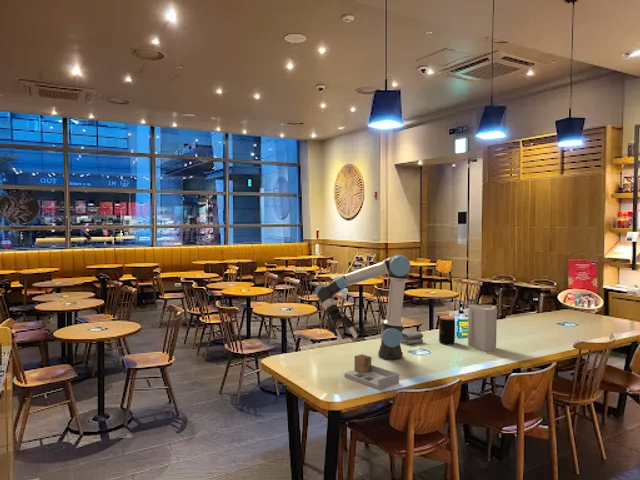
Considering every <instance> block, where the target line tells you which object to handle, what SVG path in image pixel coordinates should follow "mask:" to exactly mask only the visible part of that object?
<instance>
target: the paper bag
mask: <svg viewBox="0 0 640 480" xmlns="http://www.w3.org/2000/svg"><path fill="white" fill-rule="evenodd" d="M497 309H498V307H497V306H496V305H489V304H487V305H486V304H468V319H467V320H468V322H467V323H468V324H467V327H468V330H467V332H468V333H467V346H468V347H470V346H471V347H470V348H472V347H473V348H472V349H474V348H475V350H477V349H478V350H477V351H479V350H480V351H479V352H482V351H483V352H482V353H484V352H491V353H493V352H494V351H495V350H496V349H497V328H498V327H497V323H498V321H497V317H498V310H497ZM495 348H496V349H495ZM494 349H495V350H494ZM493 350H494V351H493ZM492 351H493V352H492Z"/></svg>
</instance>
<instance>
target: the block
mask: <svg viewBox="0 0 640 480" xmlns="http://www.w3.org/2000/svg"><path fill="white" fill-rule="evenodd" d="M371 365H372V356H370V355H366V354H363V353H362V354H358V355H354V370H355V371H357V372H360V373H363V374H364V373H368V372H371Z"/></svg>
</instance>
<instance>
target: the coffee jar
mask: <svg viewBox="0 0 640 480" xmlns="http://www.w3.org/2000/svg"><path fill="white" fill-rule="evenodd" d="M455 319H456V317H454V316H452V315H440V316H439V321H438V322H439V323H438V325H439V326H438V329H439V330H438V334H439V335H438V342H439V343H440V344H442V345H448V344H450V345H454V344H455V341H456V320H455Z"/></svg>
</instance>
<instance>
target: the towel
mask: <svg viewBox="0 0 640 480" xmlns="http://www.w3.org/2000/svg"><path fill="white" fill-rule="evenodd" d="M423 337H424V335H423V333H422V332H420V331H418V330H409V329H402V341H401V343H400V344H402V343H403V345H406V344H408V345H413V344H421V343H423V342H424V340H423ZM420 342H421V343H420Z"/></svg>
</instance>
